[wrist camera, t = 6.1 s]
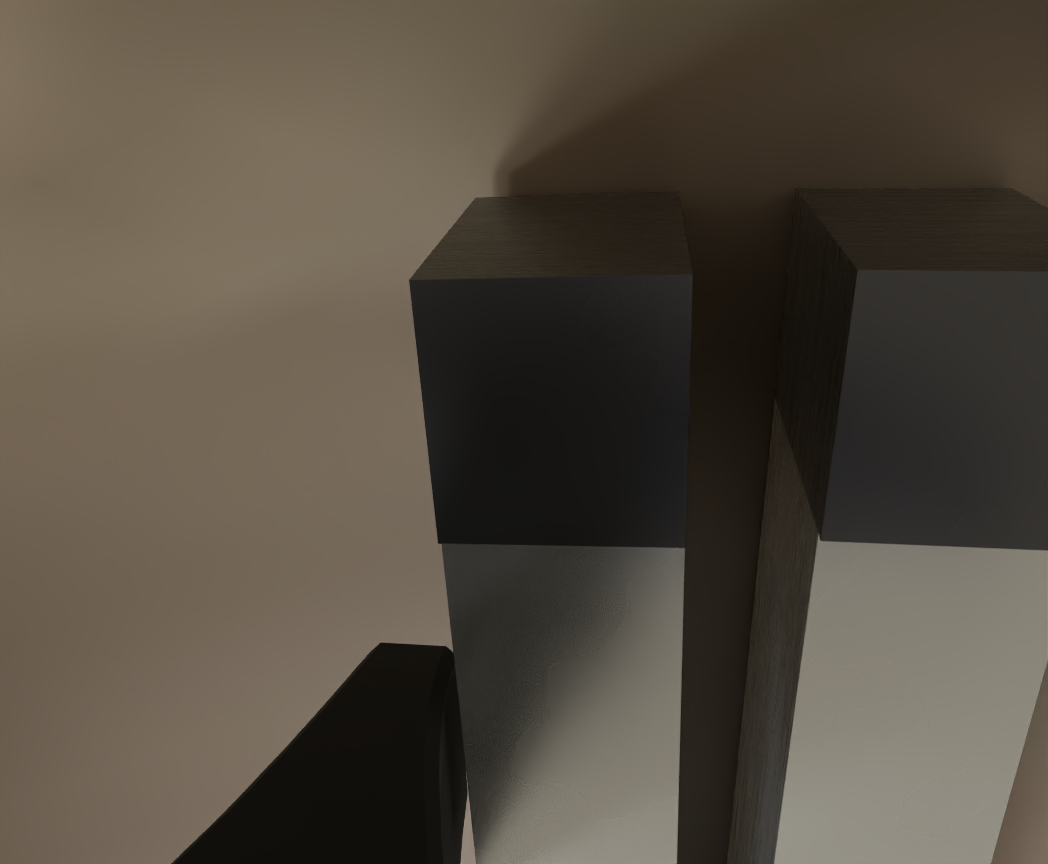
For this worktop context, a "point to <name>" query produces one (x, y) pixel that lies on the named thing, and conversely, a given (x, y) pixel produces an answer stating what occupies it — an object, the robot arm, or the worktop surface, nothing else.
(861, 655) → the fixed tong arm
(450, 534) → the hinged tong arm
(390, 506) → the worktop surface
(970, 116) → the worktop surface
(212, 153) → the worktop surface
